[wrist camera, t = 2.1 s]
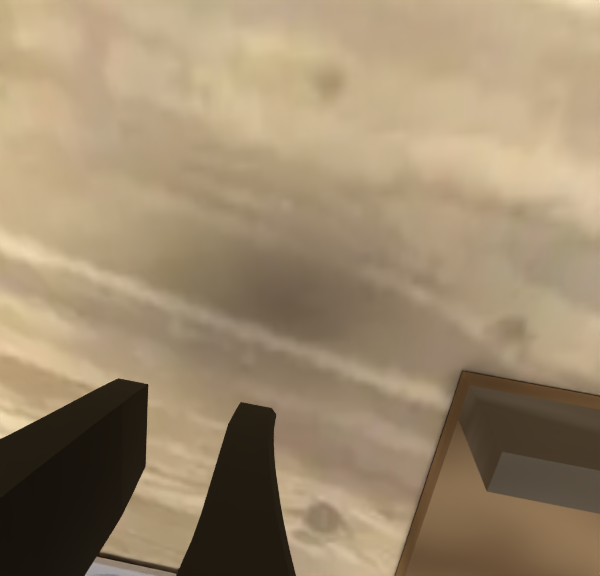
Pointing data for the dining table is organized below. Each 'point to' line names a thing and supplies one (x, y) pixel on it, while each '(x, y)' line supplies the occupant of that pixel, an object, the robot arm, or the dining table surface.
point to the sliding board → (511, 485)
